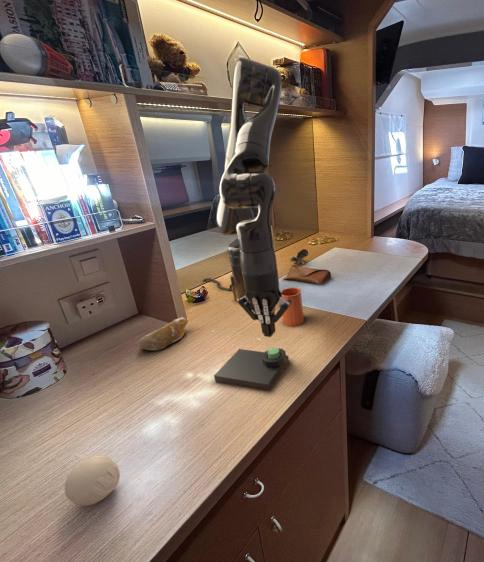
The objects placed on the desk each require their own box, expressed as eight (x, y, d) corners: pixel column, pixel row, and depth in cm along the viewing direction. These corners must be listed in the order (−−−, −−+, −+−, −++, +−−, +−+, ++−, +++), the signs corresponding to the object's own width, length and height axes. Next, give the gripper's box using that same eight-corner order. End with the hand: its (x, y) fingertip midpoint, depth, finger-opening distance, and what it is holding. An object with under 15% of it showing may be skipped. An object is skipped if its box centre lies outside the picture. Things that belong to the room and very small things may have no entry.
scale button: (266, 358, 82) (265, 353, 82) (271, 352, 85) (270, 346, 84) (276, 360, 82) (275, 354, 81) (281, 353, 84) (280, 348, 84)
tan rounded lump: (103, 518, 52) (88, 489, 49) (63, 511, 53) (46, 482, 50) (135, 477, 58) (123, 449, 55) (98, 472, 59) (85, 444, 57)
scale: (215, 382, 80) (212, 369, 79) (241, 354, 90) (238, 342, 89) (270, 391, 76) (268, 378, 75) (290, 361, 86) (289, 349, 85)
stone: (129, 332, 90) (178, 306, 101) (133, 349, 94) (180, 321, 105) (146, 345, 88) (195, 316, 99) (150, 362, 91) (196, 332, 102)
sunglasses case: (281, 279, 135) (284, 262, 135) (290, 281, 141) (293, 266, 142) (322, 285, 128) (325, 267, 129) (329, 287, 134) (332, 271, 135)
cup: (280, 324, 103) (276, 295, 99) (288, 315, 109) (285, 286, 105) (299, 327, 101) (296, 297, 98) (306, 317, 107) (304, 288, 103)
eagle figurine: (309, 265, 146) (312, 255, 153) (298, 253, 143) (302, 243, 150) (296, 273, 149) (299, 263, 156) (285, 262, 146) (289, 252, 153)
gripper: (294, 263, 75) (301, 330, 82) (242, 259, 79) (252, 323, 86) (279, 276, 69) (288, 347, 76) (223, 271, 72) (236, 340, 79)
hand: (269, 334), depth 81 cm, fingers closed
